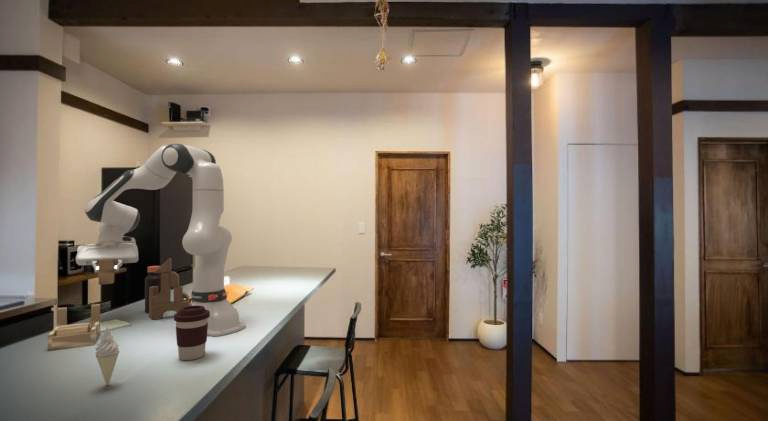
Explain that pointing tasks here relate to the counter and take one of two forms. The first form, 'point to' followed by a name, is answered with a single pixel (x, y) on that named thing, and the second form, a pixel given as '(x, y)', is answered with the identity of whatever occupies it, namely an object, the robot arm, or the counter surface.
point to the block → (106, 271)
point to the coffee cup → (191, 331)
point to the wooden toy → (166, 293)
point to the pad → (112, 325)
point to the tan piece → (74, 331)
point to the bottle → (151, 284)
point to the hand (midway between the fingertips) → (106, 271)
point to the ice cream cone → (107, 355)
